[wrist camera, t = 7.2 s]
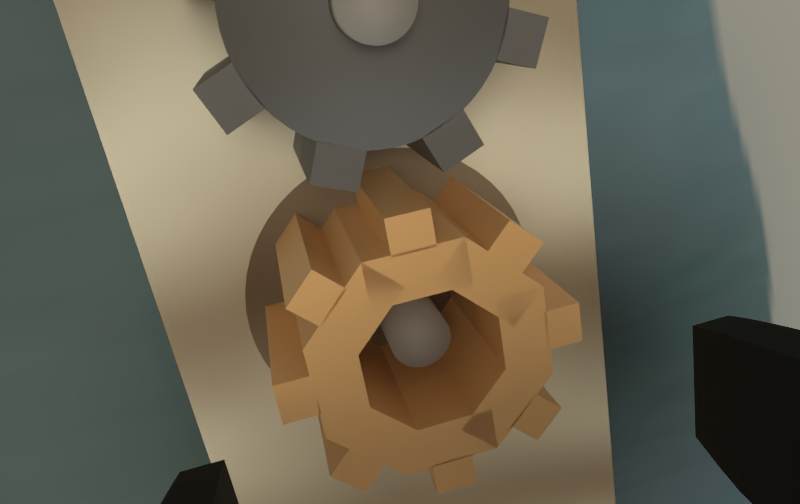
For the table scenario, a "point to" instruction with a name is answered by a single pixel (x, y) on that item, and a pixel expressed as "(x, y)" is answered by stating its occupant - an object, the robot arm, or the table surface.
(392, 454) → the orange gear
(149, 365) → the table surface
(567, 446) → the gear board
